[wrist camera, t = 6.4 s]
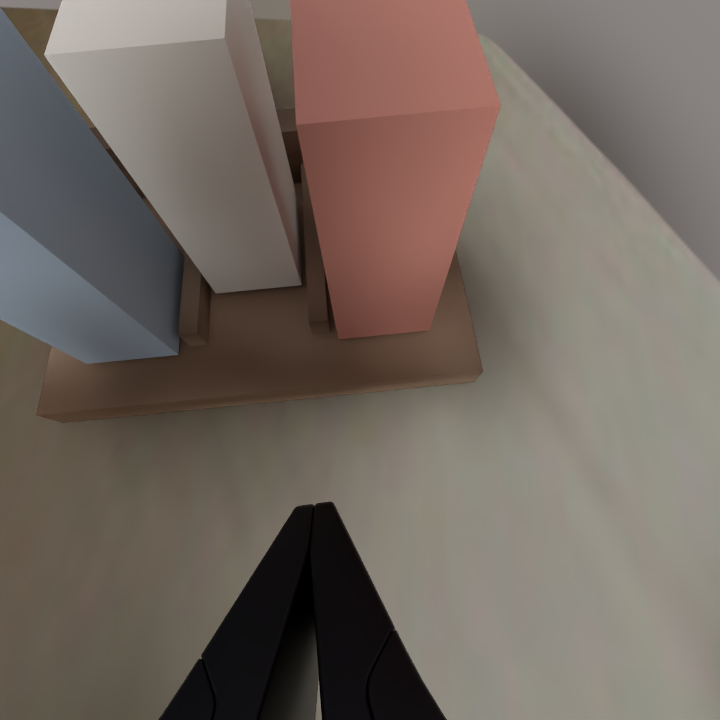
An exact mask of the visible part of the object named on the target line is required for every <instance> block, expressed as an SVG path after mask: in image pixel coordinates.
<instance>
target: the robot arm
mask: <svg viewBox="0 0 720 720" xmlns="http://www.w3.org/2000/svg"><path fill="white" fill-rule="evenodd" d="M201 657H202V659H198V661H197V662H196V664H195V665H194V667H193V669H192V670H191V672H190V673H189V675H188V676H187V678H186V680H185V681H184V683H183V684H182V686H181V687H180V689H179V690H178V692H177V693H176V695H175V696H174V698H173V699H172V701H171V702H170V704H169V705H168V707H167V708H166V710H165V711H164V713H163V714H162V716H161V717H160V719H159V720H315V716H316V704H317V691H318V678H319V685H320V698H321V712H322V720H447V719H446V718H445V716H444V715H443V713H442V712H441V710H440V708H439V707H438V705H437V703H436V702H435V700H434V698H433V697H432V695H431V693H430V692H429V690H428V689H427V687H426V685H425V684H424V682H423V680H422V679H421V677H420V675H419V673H418V671H417V669H416V667H415V666H414V664H413V662H412V660H411V658H410V656H409V654H408V652H407V651H406V649H405V647H404V645H403V643H402V641H401V639H400V636H399V634H398V632H397V631H396V630H395V627H394V625H393V623H392V621H391V619H390V617H389V615H388V613H387V611H386V608H385V606H384V604H383V602H382V600H381V598H380V596H379V594H378V592H377V590H376V588H375V586H374V584H373V582H372V580H371V578H370V576H369V574H368V572H367V570H366V568H365V566H364V564H363V562H362V560H361V558H360V556H359V554H358V552H357V550H356V548H355V546H354V544H353V541H352V539H351V537H350V535H349V533H348V531H347V529H346V527H345V525H344V523H343V521H342V519H341V517H340V515H339V513H338V511H337V509H336V507H335V505H334V503H333V502H324V503H317V504H316V505H315V506H314V505H312V504H309V505H302V506H297V507H296V508H295V509H294V510H293V512H292V513H291V515H290V516H289V518H288V520H287V521H286V523H285V524H284V526H283V527H282V529H281V531H280V532H279V534H278V535H277V537H276V538H275V540H274V542H273V543H272V545H271V546H270V548H269V549H268V551H267V553H266V554H265V556H264V557H263V559H262V560H261V562H260V564H259V565H258V567H257V568H256V570H255V571H254V573H253V575H252V576H251V578H250V579H249V581H248V582H247V584H246V586H245V587H244V589H243V590H242V592H241V593H240V595H239V597H238V598H237V600H236V601H235V603H234V604H233V606H232V608H231V609H230V611H229V612H228V614H227V615H226V617H225V619H224V620H223V622H222V623H221V625H220V626H219V628H218V630H217V631H216V633H215V634H214V636H213V637H212V639H211V641H210V642H209V644H208V645H207V647H206V648H205V650H204V652H203V653H202V655H201Z"/></svg>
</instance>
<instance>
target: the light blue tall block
mask: <svg viewBox="0 0 720 720" xmlns="http://www.w3.org/2000/svg"><path fill="white" fill-rule="evenodd" d="M184 260H185V257H184V255H183V254H182V253H181V251H180V250H179V249H178V247H177V246H176V244H175V243H174V242H173V240H172V239H171V238H170V236H169V235H168V234H167V232H166V231H165V230H164V228H163V227H162V226H161V224H160V223H159V221H158V220H157V219H156V217H155V216H154V215H153V213H152V212H151V211H150V209H149V208H148V207H147V205H146V204H145V203H144V201H143V200H142V198H141V197H140V196H139V194H138V193H137V192H136V190H135V189H134V188H133V186H132V185H131V184H130V182H129V181H128V180H127V178H126V177H125V175H124V174H123V173H122V171H121V170H120V169H119V167H118V166H117V165H116V163H115V162H114V161H113V159H112V158H111V157H110V155H109V154H108V152H107V151H106V150H105V148H104V147H103V146H102V144H101V143H100V142H99V140H98V139H97V138H96V136H95V135H94V134H93V132H92V131H91V129H90V128H89V127H88V125H87V124H86V123H85V121H84V120H83V119H82V117H81V116H80V115H79V113H78V112H77V110H76V109H75V108H74V106H73V105H72V104H71V102H70V101H69V100H68V98H67V97H66V96H65V94H64V93H63V92H62V90H61V89H60V87H59V86H58V85H57V83H56V82H55V81H54V79H53V78H52V77H51V75H50V74H49V73H48V71H47V70H46V69H45V67H44V66H43V64H42V63H41V62H40V60H39V59H38V58H37V56H36V55H35V54H34V52H33V51H32V50H31V48H30V47H29V46H28V44H27V43H26V41H25V40H24V39H23V37H22V36H21V35H20V33H19V32H18V31H17V29H16V28H15V27H14V25H13V24H12V23H11V21H10V20H9V18H8V17H7V16H6V14H5V13H4V12H3V10H2V9H1V8H0V320H2V321H4V322H6V323H8V324H10V325H12V326H14V327H16V328H18V329H20V330H21V331H23V332H25V333H27V334H29V335H31V336H33V337H35V338H37V339H39V340H41V341H43V342H45V343H47V344H49V345H51V346H53V347H55V348H56V349H58V350H60V351H62V352H64V353H66V354H68V355H70V356H72V357H74V358H76V359H78V360H80V361H82V362H84V363H86V364H92V363H102V362H112V361H122V360H132V359H142V358H153V357H163V356H173V355H178V354H179V343H180V337H179V336H178V326H179V315H180V304H181V293H182V282H183V271H184Z"/></svg>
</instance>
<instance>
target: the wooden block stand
mask: <svg viewBox="0 0 720 720" xmlns="http://www.w3.org/2000/svg"><path fill="white" fill-rule="evenodd" d="M276 112H277V117H278V121H279V125H280V129H281V133H282V137H283V141H284V146H285V150H286V154H287V158H288V162H289V166H290V171H291V175H292V179H293V183H294V187H295V191H296V195H297V200H298V212H299V235H300V257H301V280H302V285H298V286H288V287H278V288H267V289H257V290H247V291H237V292H226V293H215V292H214V290H213V289H212V288H211V286H210V285H209V283H208V282H207V281H206V279H205V278H204V276H203V275H202V274H201V272H200V271H199V269H198V268H197V267H196V265H195V264H194V263H193V261H192V260H191V258H190V257H189V256H188V254H187V253H186V251H185V250H184V249H183V247H182V246H181V244H180V243H179V242H178V240H177V239H176V238H175V236H174V235H173V233H172V232H171V231H170V229H169V228H168V226H167V225H166V224H165V222H164V221H163V220H162V218H161V217H160V215H159V214H158V213H157V211H156V210H155V208H154V207H153V206H152V204H151V203H150V201H149V200H148V199H147V197H146V196H145V195H144V193H143V192H142V190H141V189H140V188H139V186H138V185H137V183H136V182H135V181H134V179H133V178H132V176H131V175H130V174H129V172H128V171H127V170H126V168H125V167H124V165H123V164H122V163H121V161H120V160H119V158H118V157H117V156H116V154H115V153H114V151H113V150H112V149H111V147H110V146H109V145H108V143H107V142H106V140H105V139H104V138H103V136H102V135H101V133H100V132H99V131H98V129H97V128H96V127H95V128H90V129H91V131H92V132H93V134H94V135H95V136H96V138H97V139H98V140H99V142H100V143H101V144H102V146H103V147H104V148H105V150H106V151H107V152H108V154H109V155H110V157H111V158H112V159H113V161H114V162H115V163H116V165H117V166H118V167H119V169H120V170H121V171H122V173H123V174H124V175H125V177H126V178H127V180H128V181H129V182H130V184H131V185H132V186H133V188H134V189H135V190H136V192H137V193H138V194H139V196H140V197H141V198H142V200H143V201H144V203H145V204H146V205H147V207H148V208H149V209H150V211H151V212H152V213H153V215H154V216H155V217H156V219H157V220H158V221H159V223H160V224H161V226H162V227H163V228H164V230H165V231H166V232H167V234H168V235H169V236H170V238H171V239H172V240H173V242H174V243H175V244H176V246H177V247H178V249H179V250H180V251H181V253H182V254H183V255H184V257H185V260H184V271H183V282H182V293H181V304H180V315H179V326H178V336H179V337H180V343H179V354H178V355H173V356H163V357H153V358H142V359H132V360H122V361H112V362H102V363H92V364H86V363H84V362H82V361H80V360H78V359H76V358H74V357H72V356H70V355H68V354H66V353H64V352H62V351H60V350H58V349H56V348H55V347H53V346H52V347H51V351H50V356H49V360H48V365H47V369H46V374H45V378H44V383H43V387H42V392H41V396H40V401H39V405H38V410H37V414H36V415H38V416H41V417H45V418H48V419H52V420H55V421H59V422H62V423H65V422H75V421H85V420H95V419H105V418H115V417H125V416H136V415H146V414H156V413H166V412H176V411H186V410H196V409H206V408H216V407H226V406H236V405H246V404H256V403H266V402H277V401H287V400H297V399H307V398H317V397H327V396H337V395H347V394H357V393H367V392H377V391H387V390H397V389H407V388H418V387H428V386H438V385H448V384H458V383H468V382H475V380H476V379H477V378H478V377H479V375H480V374H481V373H482V371H483V369H482V364H481V360H480V355H479V351H478V347H477V342H476V338H475V333H474V329H473V324H472V320H471V316H470V311H469V307H468V302H467V298H466V294H465V289H464V285H463V280H462V276H461V271H460V267H459V263H458V258H457V254H456V249H455V252H454V255H453V258H452V261H451V265H450V268H449V271H448V274H447V277H446V280H445V284H444V287H443V290H442V293H441V296H440V299H439V302H438V306H437V309H436V312H435V315H434V318H433V321H432V325H431V328H430V330H429V331H419V332H409V333H399V334H389V335H379V336H368V337H358V338H348V339H338V334H337V329H336V324H335V319H334V314H333V309H332V304H331V299H330V294H329V289H328V284H327V279H326V274H325V269H324V264H323V259H322V253H321V248H320V243H319V238H318V233H317V228H316V223H315V218H314V213H313V208H312V203H311V198H310V193H309V188H308V183H307V178H306V173H305V168H304V163H303V157H302V152H301V147H300V142H299V137H298V132H297V127H296V113H295V109H285V110H276Z"/></svg>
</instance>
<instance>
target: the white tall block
mask: <svg viewBox="0 0 720 720" xmlns="http://www.w3.org/2000/svg"><path fill="white" fill-rule="evenodd" d="M44 56H45V57H46V58H47V60H48V61H49V63H50V64H51V65H52V67H53V68H54V70H55V71H56V72H57V74H58V75H59V76H60V78H61V79H62V81H63V82H64V83H65V85H66V86H67V88H68V89H69V90H70V92H71V93H72V95H73V96H74V97H75V99H76V100H77V101H78V103H79V104H80V106H81V107H82V108H83V110H84V111H85V113H86V114H87V115H88V117H89V118H90V120H91V121H92V122H93V124H94V125H95V126H96V128H97V129H98V131H99V132H100V133H101V135H102V136H103V138H104V139H105V140H106V142H107V143H108V145H109V146H110V147H111V149H112V150H113V151H114V153H115V154H116V156H117V157H118V158H119V160H120V161H121V163H122V164H123V165H124V167H125V168H126V170H127V171H128V172H129V174H130V175H131V176H132V178H133V179H134V181H135V182H136V183H137V185H138V186H139V188H140V189H141V190H142V192H143V193H144V195H145V196H146V197H147V199H148V200H149V201H150V203H151V204H152V206H153V207H154V208H155V210H156V211H157V213H158V214H159V215H160V217H161V218H162V220H163V221H164V222H165V224H166V225H167V226H168V228H169V229H170V231H171V232H172V233H173V235H174V236H175V238H176V239H177V240H178V242H179V243H180V244H181V246H182V247H183V249H184V250H185V251H186V253H187V254H188V256H189V257H190V258H191V260H192V261H193V263H194V264H195V265H196V267H197V268H198V269H199V271H200V272H201V274H202V275H203V276H204V278H205V279H206V281H207V282H208V283H209V285H210V286H211V288H212V289H213V290H214V292H215V293H226V292H237V291H247V290H257V289H267V288H278V287H288V286H298V285H302V280H301V257H300V235H299V212H298V200H297V195H296V191H295V187H294V183H293V179H292V175H291V171H290V166H289V162H288V158H287V154H286V150H285V146H284V141H283V137H282V133H281V129H280V125H279V121H278V117H277V112H276V108H275V104H274V100H273V96H272V92H271V87H270V83H269V79H268V75H267V71H266V67H265V63H264V58H263V54H262V50H261V46H260V42H259V38H258V33H257V29H256V25H255V21H254V17H253V13H252V9H251V5H250V0H62V3H61V5H60V8H59V11H58V14H57V17H56V20H55V23H54V27H53V30H52V33H51V36H50V39H49V42H48V45H47V48H46V51H45V54H44Z"/></svg>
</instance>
